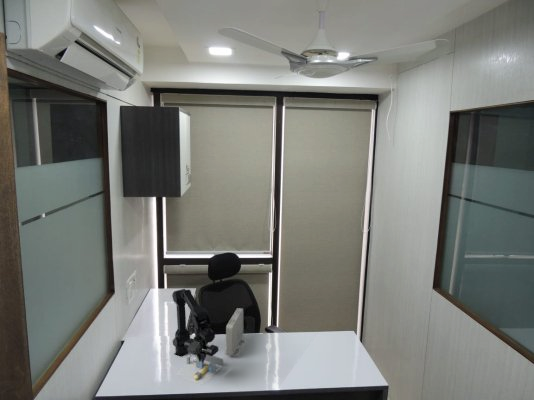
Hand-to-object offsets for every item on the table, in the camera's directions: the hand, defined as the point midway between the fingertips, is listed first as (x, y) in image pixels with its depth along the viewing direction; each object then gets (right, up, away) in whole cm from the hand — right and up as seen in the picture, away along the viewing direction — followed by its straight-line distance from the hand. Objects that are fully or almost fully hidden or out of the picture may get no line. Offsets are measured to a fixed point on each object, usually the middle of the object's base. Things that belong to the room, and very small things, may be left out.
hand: (201, 361), depth 183 cm
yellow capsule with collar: (0, -7, +1) cm, 7 cm away
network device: (+15, -5, +28) cm, 33 cm away
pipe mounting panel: (-2, -7, +5) cm, 9 cm away
